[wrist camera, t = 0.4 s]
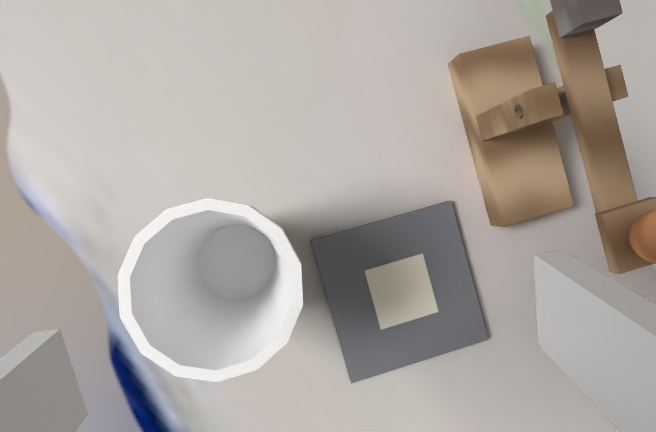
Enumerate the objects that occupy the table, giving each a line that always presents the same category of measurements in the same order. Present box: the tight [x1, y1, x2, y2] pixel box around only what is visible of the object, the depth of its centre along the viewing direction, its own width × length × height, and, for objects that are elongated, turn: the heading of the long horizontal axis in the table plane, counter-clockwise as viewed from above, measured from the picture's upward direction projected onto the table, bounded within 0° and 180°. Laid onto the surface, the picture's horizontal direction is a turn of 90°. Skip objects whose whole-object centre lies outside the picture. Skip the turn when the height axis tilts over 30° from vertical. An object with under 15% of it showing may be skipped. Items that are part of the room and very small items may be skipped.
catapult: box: [448, 0, 656, 274], centre depth 30 cm, size 17×6×15 cm, turn 16°
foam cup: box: [118, 198, 303, 382], centre depth 29 cm, size 10×9×13 cm
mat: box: [311, 201, 488, 383], centre depth 37 cm, size 12×12×1 cm
